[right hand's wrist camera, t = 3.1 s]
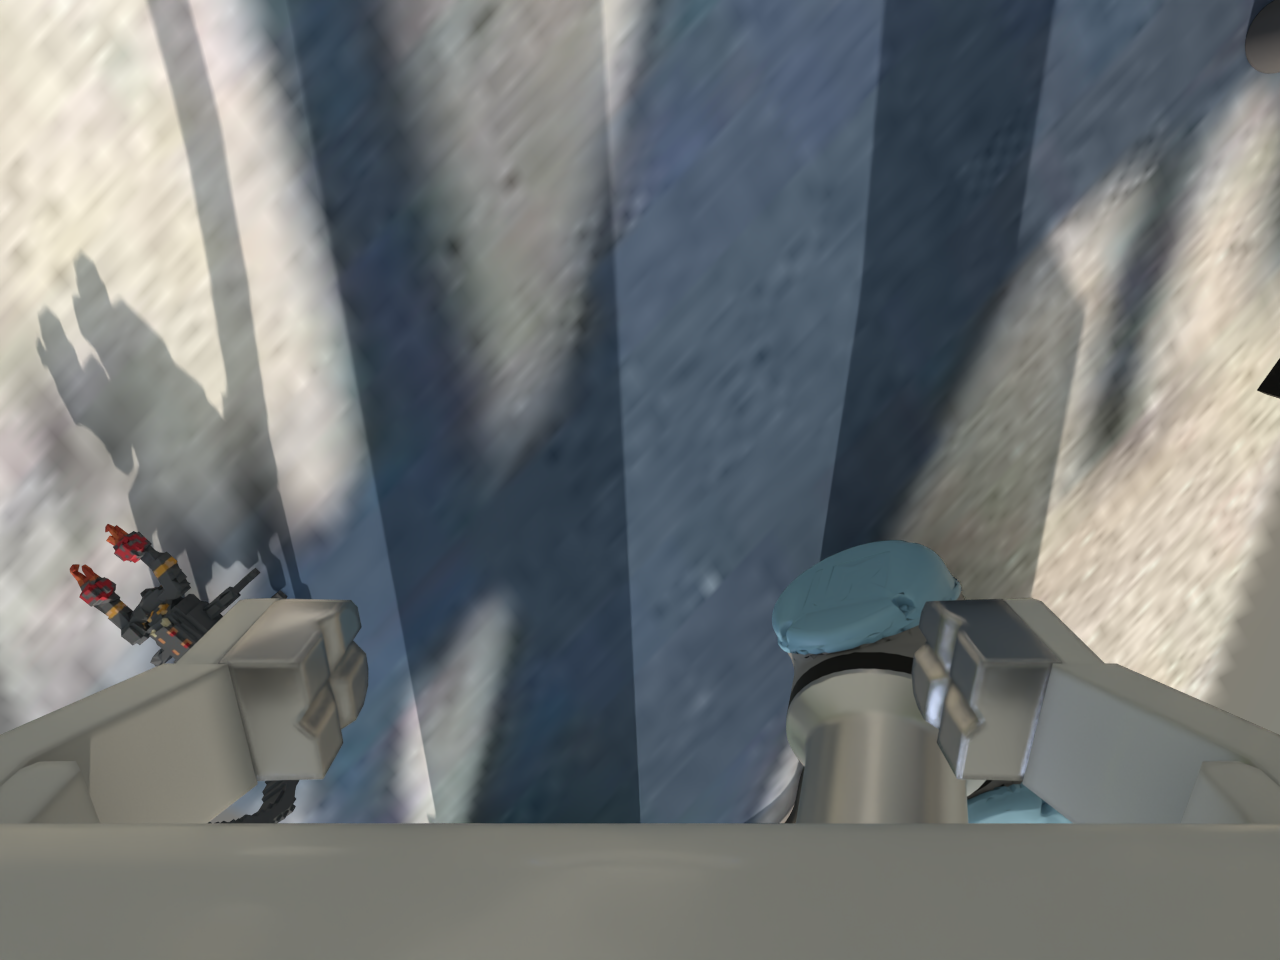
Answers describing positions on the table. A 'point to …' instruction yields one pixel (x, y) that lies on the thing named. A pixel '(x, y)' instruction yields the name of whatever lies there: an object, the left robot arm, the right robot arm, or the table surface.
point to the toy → (173, 628)
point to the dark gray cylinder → (1265, 39)
